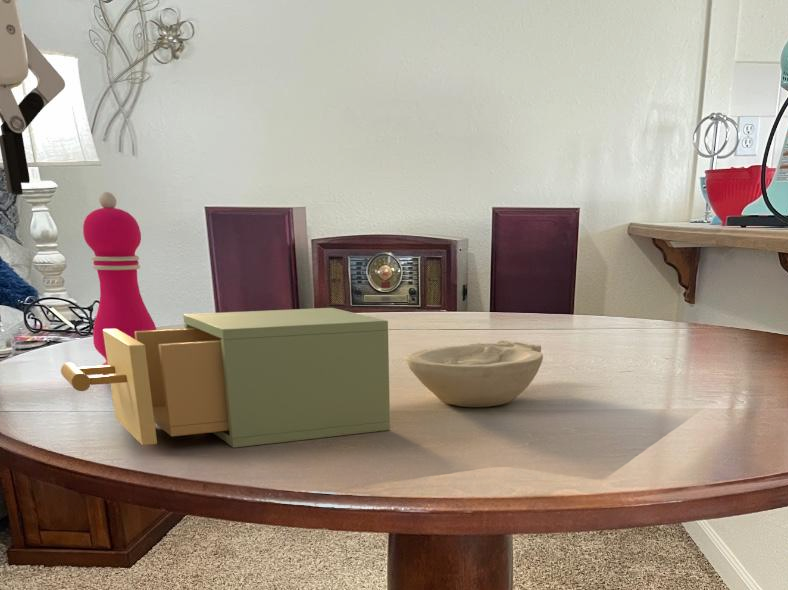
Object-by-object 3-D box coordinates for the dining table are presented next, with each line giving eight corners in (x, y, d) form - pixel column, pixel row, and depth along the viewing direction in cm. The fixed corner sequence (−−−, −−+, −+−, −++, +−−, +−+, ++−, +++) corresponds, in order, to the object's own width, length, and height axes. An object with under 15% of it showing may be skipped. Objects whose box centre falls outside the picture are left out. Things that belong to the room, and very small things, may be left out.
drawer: (86, 451, 69) (70, 348, 66) (65, 423, 78) (50, 331, 75) (301, 428, 77) (295, 335, 74) (259, 405, 86) (253, 321, 83)
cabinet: (233, 448, 74) (222, 329, 71) (194, 419, 84) (182, 314, 81) (390, 430, 81) (388, 320, 77) (336, 405, 91) (332, 307, 87)
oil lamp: (472, 375, 108) (473, 333, 106) (583, 386, 102) (586, 341, 100) (379, 405, 91) (378, 355, 89) (506, 420, 85) (507, 367, 83)
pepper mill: (85, 380, 103) (56, 191, 95) (130, 371, 109) (106, 192, 101) (132, 385, 100) (106, 191, 92) (176, 376, 106) (155, 192, 98)
